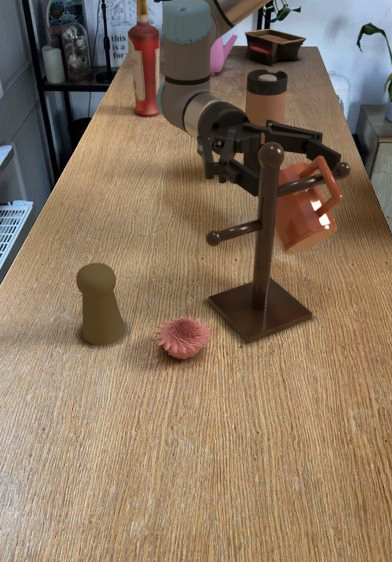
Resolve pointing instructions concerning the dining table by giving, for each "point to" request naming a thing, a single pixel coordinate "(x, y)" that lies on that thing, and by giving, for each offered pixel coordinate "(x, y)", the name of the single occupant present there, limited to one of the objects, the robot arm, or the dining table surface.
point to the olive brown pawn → (99, 304)
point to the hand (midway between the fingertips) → (299, 175)
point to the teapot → (220, 53)
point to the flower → (183, 336)
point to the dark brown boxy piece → (272, 46)
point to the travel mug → (264, 105)
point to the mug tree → (265, 257)
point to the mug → (305, 208)
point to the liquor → (144, 61)
